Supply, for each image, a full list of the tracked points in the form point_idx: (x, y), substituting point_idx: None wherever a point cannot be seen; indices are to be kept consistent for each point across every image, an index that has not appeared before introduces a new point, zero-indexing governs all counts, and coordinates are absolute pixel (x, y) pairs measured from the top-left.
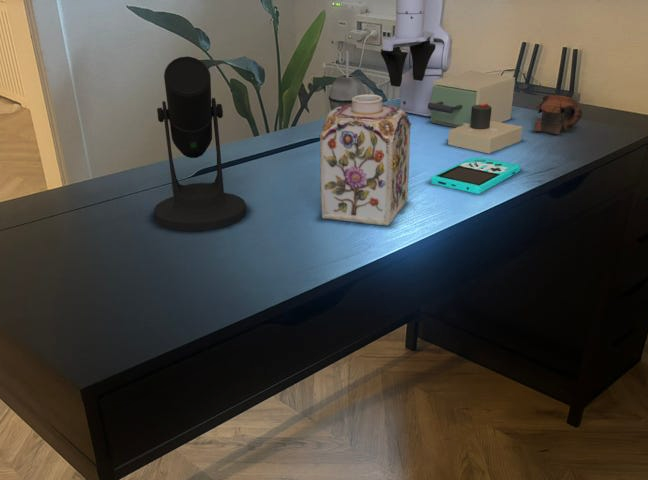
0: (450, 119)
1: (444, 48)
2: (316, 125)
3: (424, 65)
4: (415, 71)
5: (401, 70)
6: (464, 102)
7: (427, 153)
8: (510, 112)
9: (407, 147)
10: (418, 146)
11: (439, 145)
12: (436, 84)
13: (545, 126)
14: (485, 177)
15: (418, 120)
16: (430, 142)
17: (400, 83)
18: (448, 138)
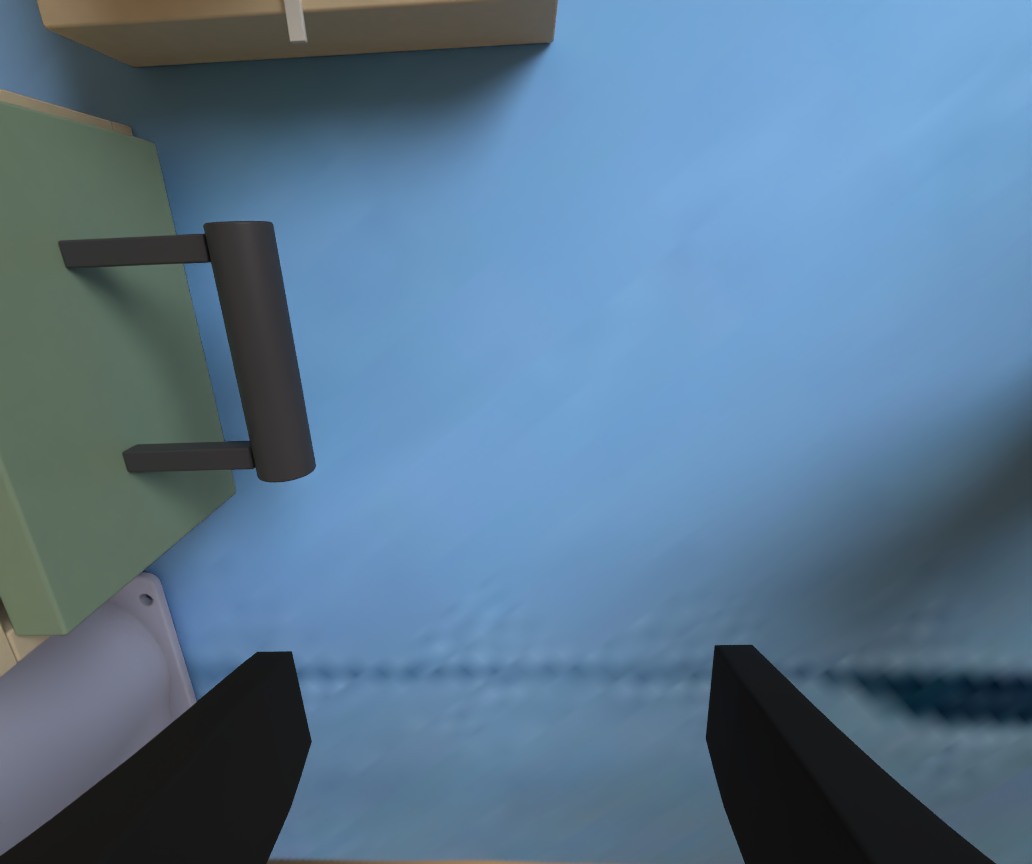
0: (183, 340)
1: None
2: (704, 841)
3: (143, 815)
4: (257, 824)
5: (890, 821)
6: (22, 217)
7: (838, 3)
8: None
9: None
10: (719, 188)
11: (606, 84)
12: (4, 635)
13: None
14: None
15: (251, 574)
16: (585, 191)
17: (747, 663)
18: (554, 24)
